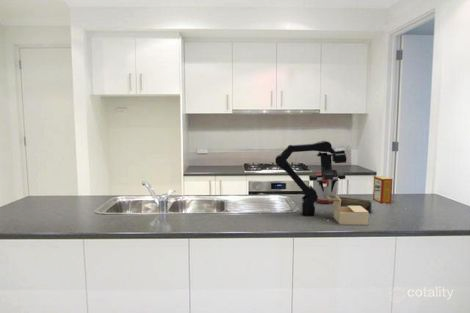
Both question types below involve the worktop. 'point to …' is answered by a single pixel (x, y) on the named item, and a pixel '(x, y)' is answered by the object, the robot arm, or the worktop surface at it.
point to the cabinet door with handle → (334, 201)
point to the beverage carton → (356, 203)
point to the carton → (351, 215)
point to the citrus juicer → (326, 190)
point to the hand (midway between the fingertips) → (327, 191)
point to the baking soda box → (382, 189)
